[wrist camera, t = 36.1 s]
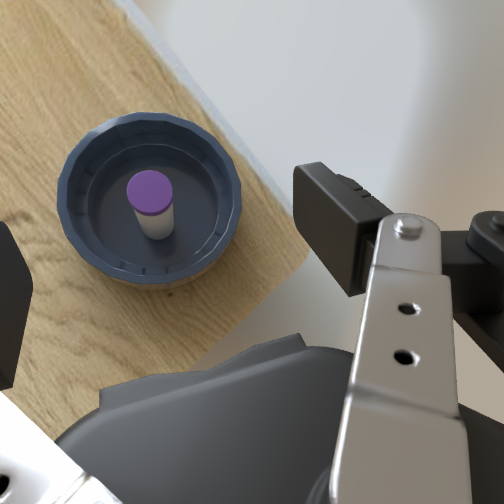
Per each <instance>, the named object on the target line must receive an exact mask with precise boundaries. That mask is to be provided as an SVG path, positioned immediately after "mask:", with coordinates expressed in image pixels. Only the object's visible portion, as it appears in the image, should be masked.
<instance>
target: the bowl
mask: <svg viewBox="0 0 504 504" xmlns="http://www.w3.org/2000/svg"><path fill="white" fill-rule="evenodd" d="M147 170H152V171H157V172H160V173H162V174H163V175H165V176H166V177H167V178H168V179H169V181H170V182H171V184H172V187H173V201H172V202H173V215H174V228H173V231H172V233H171V234H170V235H169V236H168V237H166V238H164V239H161V240H155V239H151V238H149V237H148V236H146V235H145V234H144V232H143V230H142V228H141V225H140V223H139V221H138V218H137V216H136V213H135V211H134V209H133V208H132V206H131V204H130V202H129V200H128V197H127V186H128V183H129V181H130V180H131V179H132V177H134V176H135V175H136V174H138V173H140V172H142V171H147ZM241 210H242V200H241V182H240V179H239V177H238V174H237V172H236V169H235V166H234V164H233V161H232V159H231V157H230V156H229V155H228V153H227V152H226V151H225V150H224V148H223V147H222V146H221V145H220V143H219V142H218V141H217V140H216V138H215V137H214V136H212V135H211V134H209V133H208V132H206V131H205V130H204V129H202V128H201V127H199V126H198V125H196V124H195V123H194V122H191V121H188V120H186V119H183V118H180V117H177V116H174V115H171V114H168V113H167V114H166V113H155V112H135V113H131V114H127V115H123V116H119V117H115V118H111V119H109V120H108V121H106V122H104V123H103V124H101V125H99V126H98V127H96V128H94V129H93V130H91V131H89V132H88V133H87V134H86V135H85V136H84V137H83V138H82V139H81V140H80V142H79V143H78V144H77V145H76V146H75V147H74V148H73V149H72V151H71V152H70V153H69V154H68V156H67V158H66V161H65V163H64V166H63V168H62V171H61V173H60V176H59V178H58V187H57V211H58V214H59V217H60V220H61V223H62V226H63V230H64V233H65V235H66V237H67V238H68V240H69V241H70V242H71V244H72V245H73V246H74V248H75V249H76V250H77V251H78V253H79V254H80V255H81V257H82V258H83V259H84V260H85V261H87V262H88V263H90V264H91V265H93V266H94V267H96V268H97V269H99V270H100V271H102V272H103V273H105V274H106V275H108V276H109V277H110V278H112V279H113V280H115V281H116V282H118V283H121V284H124V285H128V286H131V287H135V288H138V289H142V290H162V289H172V288H175V287H178V286H181V285H183V284H186V283H189V282H192V281H194V280H196V279H197V278H199V277H200V276H201V275H203V274H204V273H205V272H206V271H208V270H209V269H210V268H212V267H213V266H214V265H215V264H216V262H217V261H218V259H219V258H220V257H221V255H222V254H223V252H224V251H225V249H226V248H227V246H228V245H229V243H230V241H231V240H232V238H233V236H234V234H235V231H236V228H237V224H238V221H239V217H240V214H241Z"/></svg>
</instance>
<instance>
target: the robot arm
mask: <svg viewBox="0 0 504 504" xmlns="http://www.w3.org/2000/svg"><path fill="white" fill-rule="evenodd" d="M293 217H294V222H295V225H296V228H297V230H298V231H299V233H300V234H301V235H302V237H303V238H304V239H305V241H306V242H307V243H308V245H309V246H310V247H311V248H312V250H313V251H314V252H315V254H316V255H317V256H318V258H319V259H320V260H321V262H322V263H323V264H324V265H325V267H326V268H327V269H328V271H329V272H330V273H331V274H332V276H333V277H334V278H335V280H336V281H337V282H338V284H339V285H340V286H341V288H342V289H343V290H344V291H345V293H346V294H347V295H348V297H352V296H355V295H359V294H363V293H365V299H364V304H363V310H362V314H361V320H360V325H359V331H358V336H357V342H356V346H355V352H354V354H353V353H351V352H347V351H344V350H340V349H335V348H329V347H319V346H317V347H315V346H308V347H307V346H306V344H305V342H304V341H303V339H302V337H301V335H300V333H297V334H293V335H290V336H286V337H283V338H279V339H276V340H272V341H269V342H265V343H261V344H258V345H255V346H252V347H251V348H249V349H247V350H245V351H243V352H241V353H239V354H238V355H236V356H234V357H232V358H230V359H228V360H226V361H225V362H223V363H221V364H219V365H217V366H215V367H213V368H211V369H209V370H205V371H195V372H181V373H167V374H153V375H149V376H146V377H142V378H139V379H135V380H132V381H128V382H125V383H121V384H118V385H114V386H111V387H107V388H103V389H100V390H99V408H97V409H95V410H93V411H92V412H90V413H89V414H87V415H85V416H84V417H82V418H81V419H79V420H78V421H77V422H76V423H74V424H73V425H72V426H70V427H69V428H68V429H67V430H66V431H65V432H63V433H62V434H61V435H60V436H59V437H58V438H57V439H56V440H55V441H54V442H53V441H52V440H51V439H49V438H48V437H47V436H46V435H45V434H44V433H43V432H42V431H41V430H40V429H39V428H38V427H37V426H36V425H35V424H34V423H33V422H32V421H31V420H30V419H29V418H27V417H26V416H25V415H24V414H23V413H22V412H21V411H20V410H19V409H18V408H17V407H16V406H15V405H14V404H13V403H12V402H11V401H10V400H9V399H8V398H7V397H5V396H4V395H3V394H2V393H1V392H0V504H504V424H502V423H500V422H497V421H495V420H493V419H491V418H489V417H487V416H485V415H483V414H481V413H479V412H477V411H475V410H472V409H470V408H468V407H466V406H464V405H462V404H460V403H458V395H457V379H456V364H455V346H454V330H453V318H454V320H455V321H456V322H457V323H458V324H459V325H460V326H461V327H462V328H463V330H464V331H465V332H466V333H467V334H468V335H469V336H470V337H471V338H472V339H473V340H474V341H475V342H476V344H477V345H478V346H479V347H480V348H481V349H482V350H483V351H484V352H485V353H486V354H487V355H488V357H489V358H490V359H491V360H492V361H493V362H494V363H495V364H496V365H497V366H498V367H499V368H500V370H501V371H502V372H503V373H504V212H502V211H485V212H481V213H478V214H476V215H475V216H474V217H473V219H472V222H471V225H470V228H469V231H440V229H439V227H438V226H437V225H436V223H434V222H433V221H431V220H430V219H427V218H426V217H423V216H420V215H416V214H410V213H409V214H408V213H397V214H394V213H393V212H392V211H391V210H389V209H388V208H387V207H386V206H385V205H384V204H382V203H381V202H380V201H379V200H377V199H376V198H375V197H374V196H371V194H370V193H369V192H368V191H366V190H363V187H362V186H360V185H359V184H358V183H357V182H355V181H354V180H353V179H350V178H347V177H344V176H342V175H340V174H337V175H336V174H335V173H333V172H332V171H331V170H330V169H329V168H327V167H326V166H325V165H324V164H323V163H321V162H315V163H310V164H305V165H299V166H296V167H295V169H294V173H293ZM32 292H33V282H32V277H31V273H30V270H29V268H28V266H27V264H26V262H25V260H24V258H23V256H22V254H21V252H20V250H19V248H18V246H17V244H16V242H15V240H14V238H13V236H12V234H11V232H10V230H9V228H8V227H7V225H6V224H5V223H4V222H2V221H0V391H2V390H5V389H9V388H12V387H13V383H14V378H15V373H16V368H17V364H18V359H19V354H20V349H21V345H22V340H23V335H24V330H25V326H26V321H27V316H28V311H29V306H30V302H31V297H32Z"/></svg>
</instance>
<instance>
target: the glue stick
mask: <svg viewBox="0 0 504 504" xmlns="http://www.w3.org/2000/svg"><path fill="white" fill-rule="evenodd" d="M127 197H128V200H129V202H130V204H131V206H132V208H133V209H134V211H135V213H136V216H137V218H138V221H139V223H140V225H141V228H142V230H143V232H144V234H145V235H146V236H148V237H149V238H151V239H155V240H161V239H164V238H166V237H168V236H169V235H170V234H171V233H172V231H173V228H174V215H173V202H172V201H173V187H172V184H171V182H170V181H169V179H168V178H167V177H166V176H165V175H163V174H162V173H160V172H157V171H152V170H147V171H142V172H140V173H138V174H136V175H135V176H134V177H132V179H131V180H130V181H129V183H128V186H127Z"/></svg>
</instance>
